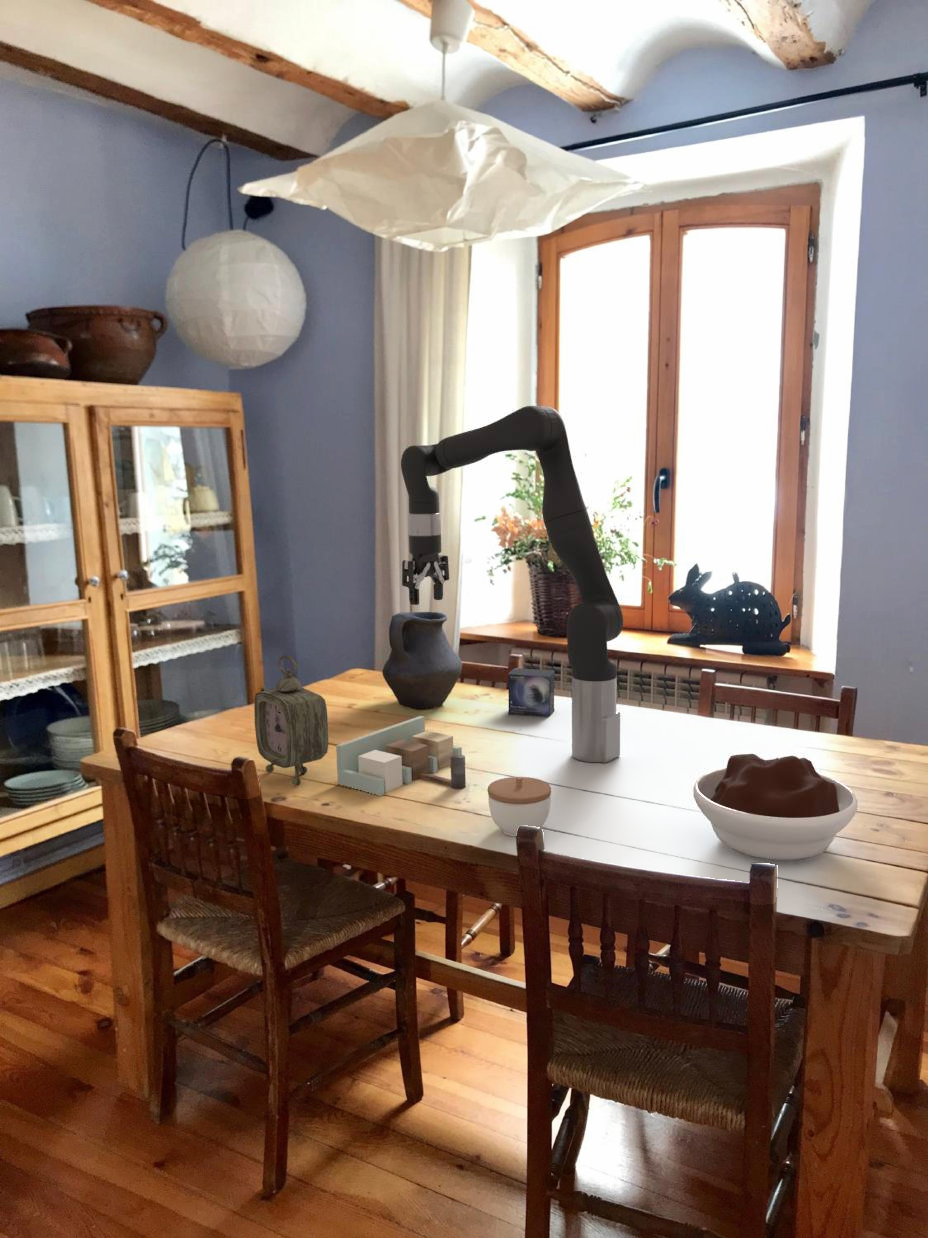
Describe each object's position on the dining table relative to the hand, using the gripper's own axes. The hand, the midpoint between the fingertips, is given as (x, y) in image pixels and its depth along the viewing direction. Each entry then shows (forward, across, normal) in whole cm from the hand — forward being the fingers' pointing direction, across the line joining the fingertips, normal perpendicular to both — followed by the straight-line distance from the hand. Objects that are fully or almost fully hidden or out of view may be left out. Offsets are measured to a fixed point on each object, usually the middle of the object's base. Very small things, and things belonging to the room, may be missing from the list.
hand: (426, 602), depth 224 cm
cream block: (+29, -39, -20) cm, 53 cm away
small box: (+30, +21, -15) cm, 39 cm away
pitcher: (+30, +11, +12) cm, 34 cm away
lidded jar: (+30, -42, -55) cm, 75 cm away
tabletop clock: (+30, -45, -2) cm, 54 cm away
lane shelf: (+29, -31, -19) cm, 47 cm away
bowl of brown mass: (+30, -24, -92) cm, 100 cm away
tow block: (+29, -31, -25) cm, 50 cm away
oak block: (+29, -23, -20) cm, 42 cm away
